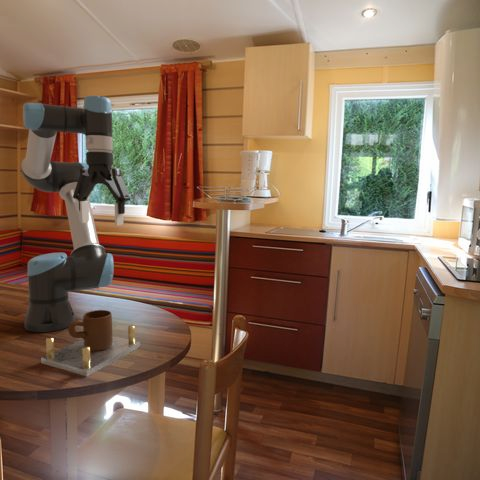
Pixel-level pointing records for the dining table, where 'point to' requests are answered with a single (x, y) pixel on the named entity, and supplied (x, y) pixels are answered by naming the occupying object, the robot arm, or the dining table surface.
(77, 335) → the mug
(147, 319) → the dining table surface
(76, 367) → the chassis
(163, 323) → the dining table surface
